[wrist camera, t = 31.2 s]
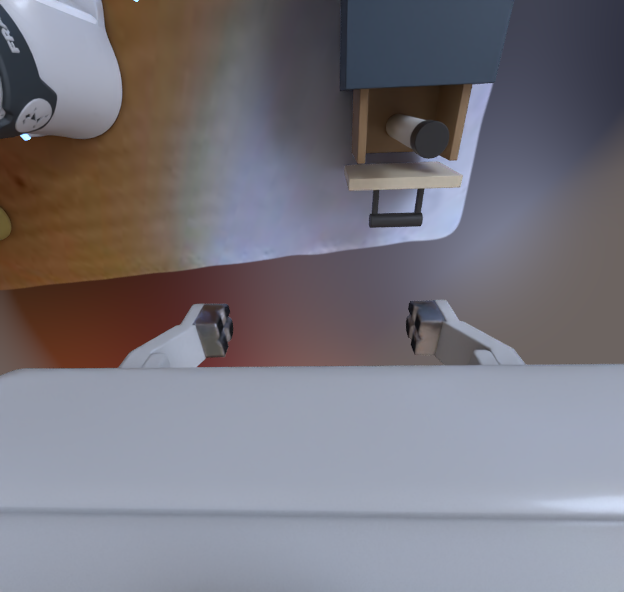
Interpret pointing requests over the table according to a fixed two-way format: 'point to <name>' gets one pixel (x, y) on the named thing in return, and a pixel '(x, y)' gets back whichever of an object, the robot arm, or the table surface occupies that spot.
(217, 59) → the table surface
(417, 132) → the marker
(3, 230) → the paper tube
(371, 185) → the drawer
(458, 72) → the cabinet
